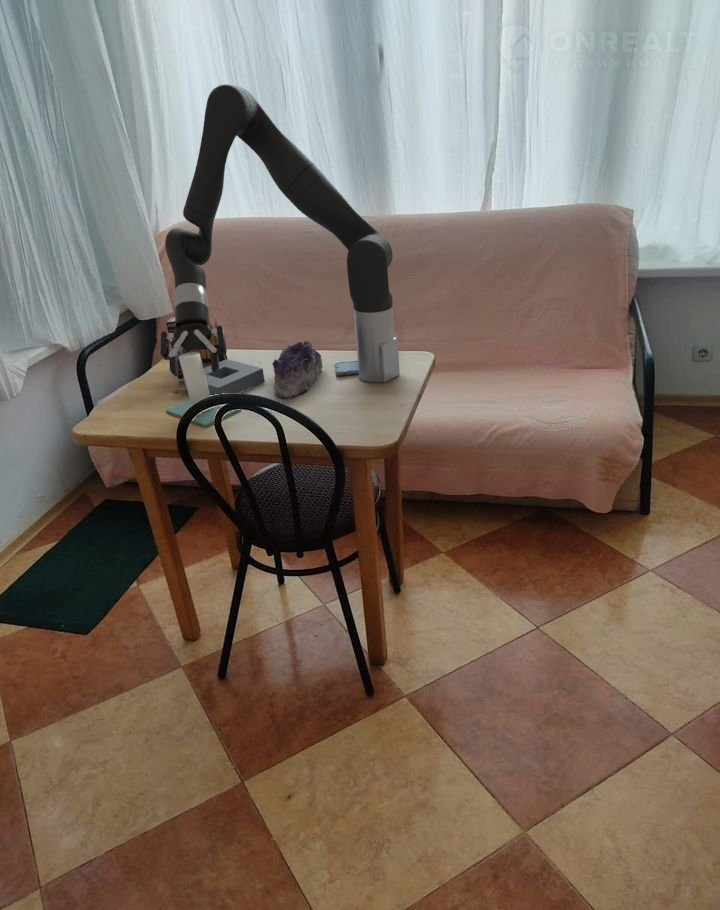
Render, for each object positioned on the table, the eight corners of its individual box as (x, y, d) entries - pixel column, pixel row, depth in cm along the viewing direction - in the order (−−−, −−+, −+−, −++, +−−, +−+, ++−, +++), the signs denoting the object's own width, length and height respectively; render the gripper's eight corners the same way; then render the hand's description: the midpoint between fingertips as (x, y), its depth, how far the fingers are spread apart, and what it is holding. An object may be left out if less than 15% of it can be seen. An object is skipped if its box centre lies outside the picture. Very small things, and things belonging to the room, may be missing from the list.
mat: (241, 410, 144) (240, 408, 144) (206, 427, 138) (205, 424, 137) (201, 397, 153) (200, 394, 153) (166, 412, 146) (165, 410, 146)
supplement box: (196, 381, 163) (183, 321, 155) (178, 382, 163) (164, 322, 155) (204, 369, 170) (192, 311, 163) (187, 370, 171) (174, 312, 163)
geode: (315, 399, 147) (304, 360, 142) (269, 406, 149) (256, 368, 144) (330, 365, 164) (320, 328, 159) (288, 371, 167) (277, 336, 162)
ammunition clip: (190, 362, 176) (181, 320, 170) (193, 360, 178) (184, 318, 172) (225, 363, 173) (217, 320, 168) (228, 360, 175) (220, 318, 169)
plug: (216, 404, 146) (203, 351, 140) (207, 413, 143) (194, 359, 136) (198, 403, 148) (185, 351, 141) (189, 412, 144) (175, 359, 137)
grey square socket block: (264, 381, 159) (262, 368, 157) (221, 401, 150) (218, 387, 148) (229, 371, 167) (226, 359, 165) (185, 389, 158) (182, 376, 156)
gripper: (155, 303, 141) (157, 369, 136) (219, 296, 141) (223, 362, 137) (165, 319, 148) (167, 383, 143) (225, 313, 148) (230, 376, 144)
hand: (194, 372), depth 140 cm, fingers open, 8 cm apart
